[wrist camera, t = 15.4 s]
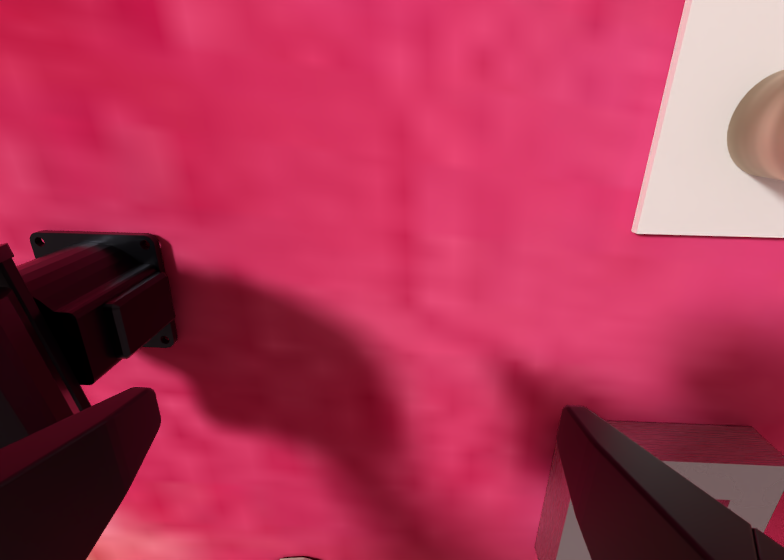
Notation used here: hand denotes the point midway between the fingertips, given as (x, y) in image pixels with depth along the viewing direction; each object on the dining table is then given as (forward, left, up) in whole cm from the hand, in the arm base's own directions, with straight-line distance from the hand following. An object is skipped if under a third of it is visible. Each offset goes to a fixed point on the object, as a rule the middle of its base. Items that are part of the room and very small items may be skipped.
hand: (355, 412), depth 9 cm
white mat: (+17, +6, -13) cm, 22 cm away
